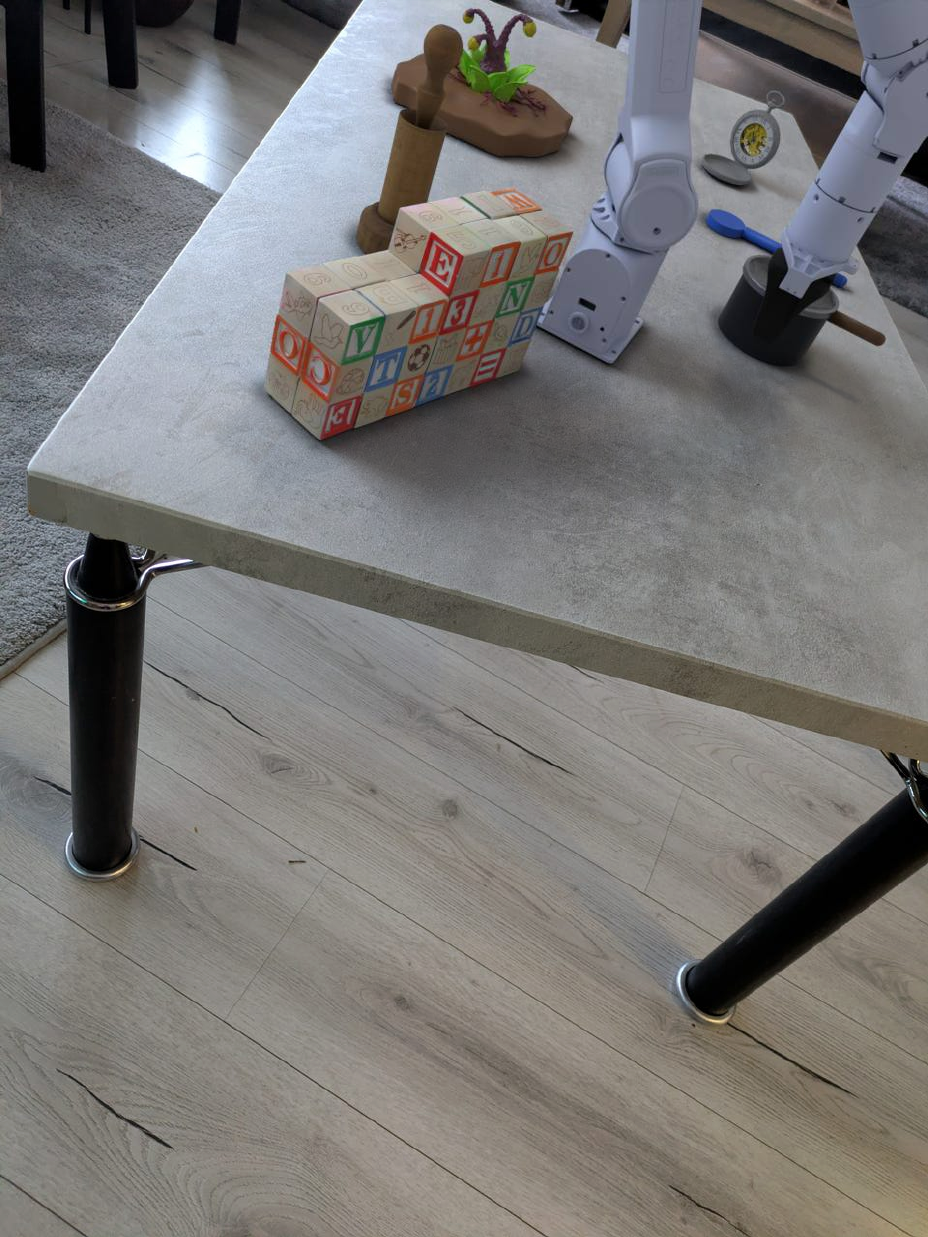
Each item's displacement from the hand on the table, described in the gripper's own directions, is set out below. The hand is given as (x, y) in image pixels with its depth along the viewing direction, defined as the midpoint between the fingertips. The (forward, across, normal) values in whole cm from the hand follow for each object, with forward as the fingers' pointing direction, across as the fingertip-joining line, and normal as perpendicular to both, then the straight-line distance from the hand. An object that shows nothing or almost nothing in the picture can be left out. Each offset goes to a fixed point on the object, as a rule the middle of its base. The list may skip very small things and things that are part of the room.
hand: (762, 336), depth 90 cm
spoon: (+3, +28, +3) cm, 28 cm away
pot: (+3, +6, -3) cm, 7 cm away
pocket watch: (+3, +45, +13) cm, 47 cm away
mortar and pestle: (+3, -12, +32) cm, 34 cm away
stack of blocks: (+3, -29, +22) cm, 37 cm away
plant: (+3, +25, +40) cm, 47 cm away
